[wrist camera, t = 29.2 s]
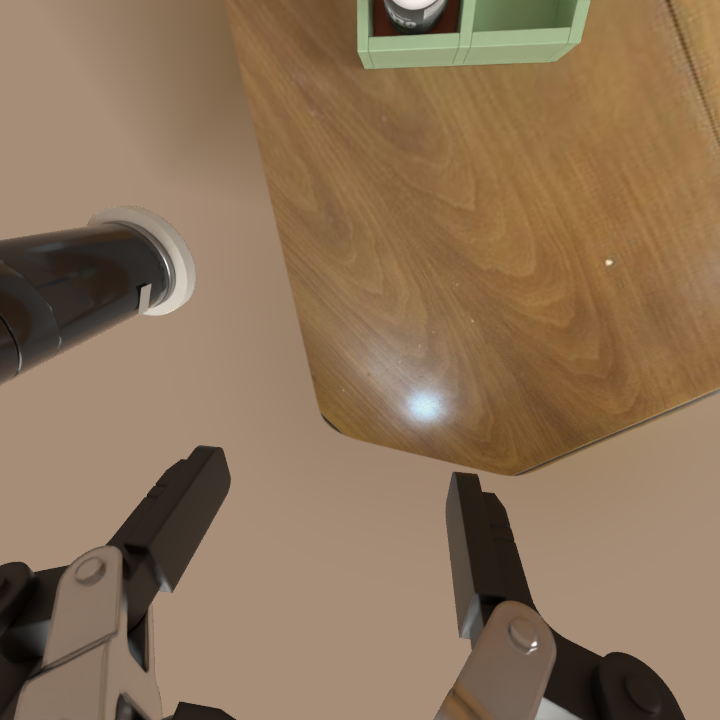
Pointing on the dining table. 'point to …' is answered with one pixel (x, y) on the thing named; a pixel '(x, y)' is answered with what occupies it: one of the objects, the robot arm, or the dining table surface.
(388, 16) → the pill bottle
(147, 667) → the robot arm
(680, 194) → the dining table surface
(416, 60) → the holder
